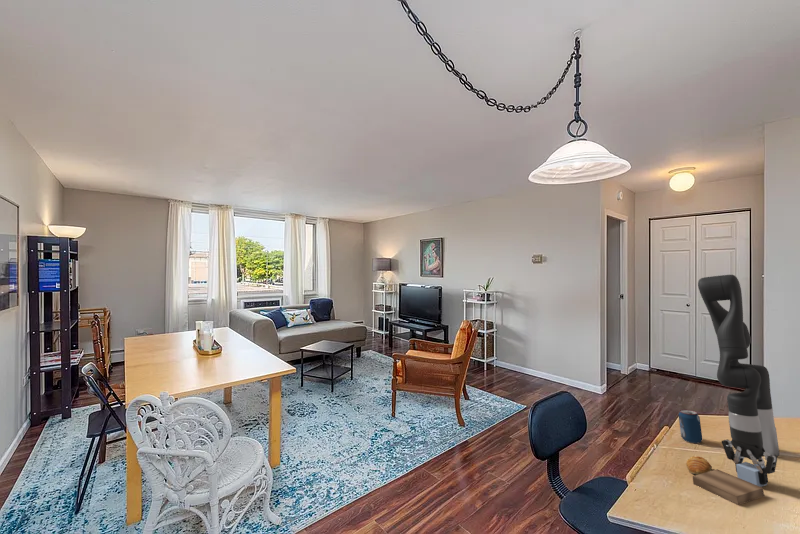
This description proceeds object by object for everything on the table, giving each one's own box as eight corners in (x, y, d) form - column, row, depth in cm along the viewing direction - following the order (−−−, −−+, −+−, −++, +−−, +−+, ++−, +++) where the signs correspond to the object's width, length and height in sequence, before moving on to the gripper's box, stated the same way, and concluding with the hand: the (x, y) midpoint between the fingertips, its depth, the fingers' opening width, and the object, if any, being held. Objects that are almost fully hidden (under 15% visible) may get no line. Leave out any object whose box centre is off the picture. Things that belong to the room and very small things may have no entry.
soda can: (706, 441, 140) (702, 412, 141) (696, 445, 138) (693, 415, 139) (687, 435, 147) (683, 407, 148) (677, 439, 144) (674, 410, 145)
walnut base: (718, 478, 115) (717, 469, 116) (764, 498, 104) (763, 487, 104) (693, 485, 112) (692, 476, 112) (738, 506, 100) (736, 496, 101)
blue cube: (748, 477, 114) (746, 461, 115) (767, 484, 109) (765, 468, 110) (738, 480, 113) (736, 464, 113) (757, 488, 108) (755, 471, 108)
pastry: (709, 480, 114) (708, 468, 114) (684, 473, 119) (682, 462, 119) (712, 469, 120) (711, 458, 121) (688, 463, 125) (686, 452, 126)
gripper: (781, 432, 107) (789, 488, 105) (726, 417, 121) (733, 467, 119) (765, 436, 105) (773, 493, 103) (712, 421, 118) (718, 471, 117)
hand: (751, 479), depth 111 cm, fingers closed on blue cube, 5 cm apart
